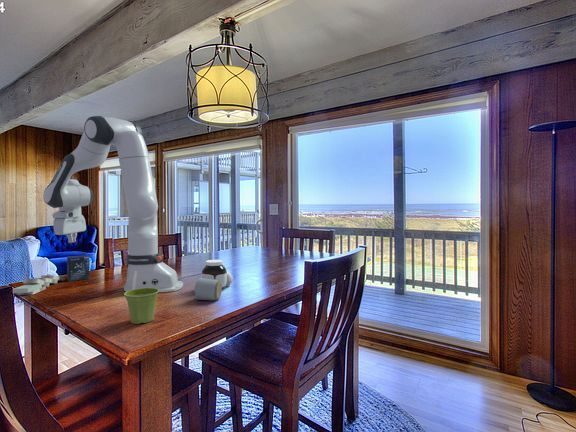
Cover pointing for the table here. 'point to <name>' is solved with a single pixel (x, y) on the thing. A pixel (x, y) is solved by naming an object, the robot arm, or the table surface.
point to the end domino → (53, 277)
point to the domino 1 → (27, 288)
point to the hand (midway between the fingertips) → (72, 242)
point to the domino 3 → (33, 291)
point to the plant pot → (141, 304)
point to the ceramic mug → (208, 289)
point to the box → (78, 268)
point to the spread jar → (217, 272)
